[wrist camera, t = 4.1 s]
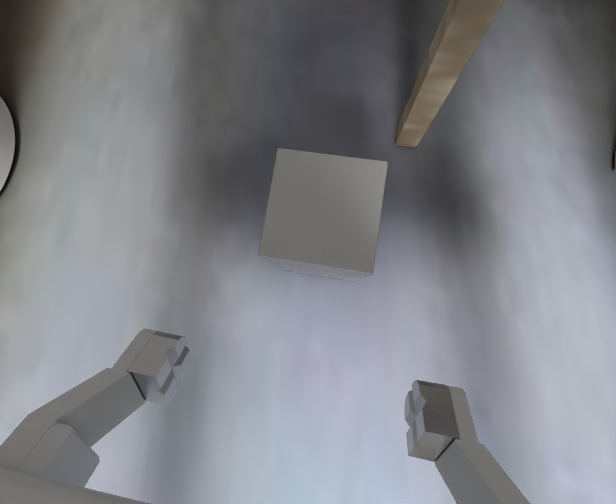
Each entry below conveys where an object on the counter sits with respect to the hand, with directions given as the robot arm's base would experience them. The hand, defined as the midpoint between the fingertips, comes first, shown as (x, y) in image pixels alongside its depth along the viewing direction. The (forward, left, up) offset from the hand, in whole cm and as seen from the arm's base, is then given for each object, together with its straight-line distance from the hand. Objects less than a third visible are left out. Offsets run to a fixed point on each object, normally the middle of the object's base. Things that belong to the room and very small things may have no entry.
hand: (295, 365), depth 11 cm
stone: (0, +6, -10) cm, 12 cm away
